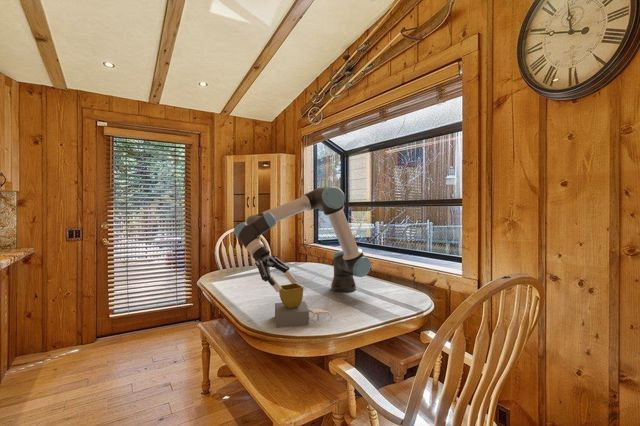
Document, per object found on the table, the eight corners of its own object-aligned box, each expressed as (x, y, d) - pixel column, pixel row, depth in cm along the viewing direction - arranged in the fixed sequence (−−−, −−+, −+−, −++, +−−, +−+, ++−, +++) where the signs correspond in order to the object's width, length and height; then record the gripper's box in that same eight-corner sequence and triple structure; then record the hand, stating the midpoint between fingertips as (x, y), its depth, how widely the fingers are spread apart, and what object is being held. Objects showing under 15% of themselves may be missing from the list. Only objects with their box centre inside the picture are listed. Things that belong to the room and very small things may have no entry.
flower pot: (285, 311, 132) (284, 290, 131) (278, 305, 139) (277, 285, 139) (304, 307, 136) (303, 287, 136) (296, 302, 144) (295, 282, 143)
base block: (305, 314, 146) (305, 301, 145) (309, 325, 132) (308, 311, 132) (274, 316, 143) (274, 303, 143) (275, 327, 129) (275, 313, 129)
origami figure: (303, 325, 132) (303, 313, 132) (307, 318, 140) (307, 307, 140) (331, 326, 130) (331, 314, 130) (333, 319, 139) (333, 308, 139)
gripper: (268, 252, 156) (295, 285, 150) (236, 260, 133) (266, 299, 127) (277, 242, 153) (305, 275, 148) (246, 248, 130) (278, 287, 125)
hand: (287, 286), depth 137 cm, fingers open, 13 cm apart
